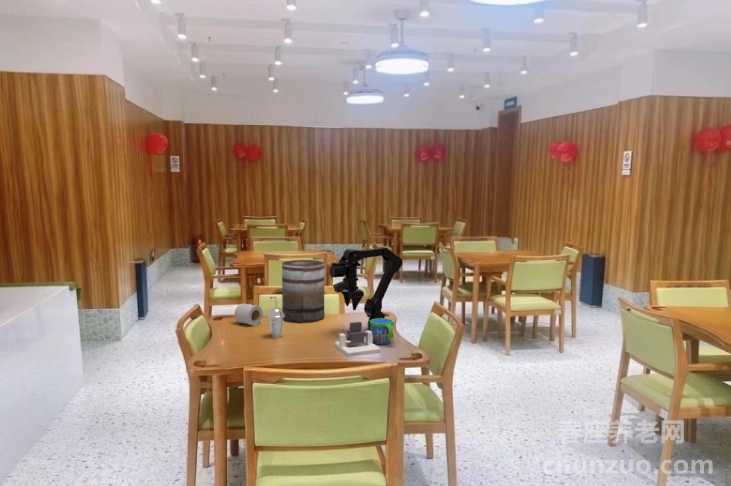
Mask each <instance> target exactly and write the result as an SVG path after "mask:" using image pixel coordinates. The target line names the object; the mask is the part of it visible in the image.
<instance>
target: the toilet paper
mask: <svg viewBox="0 0 731 486" xmlns="http://www.w3.org/2000/svg"><path fill="white" fill-rule="evenodd" d="M233 316H234V317H233V318H234V320H235V321H236V323H239V324H245V325H248V326H253V327H254V326H258V325H259V324H260V323H261V321H262V319H263V310H262V307H260V306H259V305H254V304H253V305H252V304H248V303H240V304H238V305H237V306H236V308H235V310H234V314H233Z"/></svg>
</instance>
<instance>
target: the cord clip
mask: <svg viewBox="0 0 731 486" xmlns="http://www.w3.org/2000/svg"><path fill="white" fill-rule="evenodd" d="M362 324H363V323H362V321H352V322H349V329H348V330H346V334H349V335H351V338H348V339H346V340H347V341H351V344H357V343H364V338H365V337H364V334H365V333H364V332H365V331H363V330H362V327H363V326H362Z"/></svg>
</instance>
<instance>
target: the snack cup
mask: <svg viewBox="0 0 731 486" xmlns="http://www.w3.org/2000/svg"><path fill="white" fill-rule="evenodd" d="M370 325H371V327H370V330H371V332H372V343H373V344H375V345H387V344H389V343H390V342H391V340H393V339H394V332H393V325H394V320H393V319H390V318H386V317H385V318H376V319H372V320H370Z"/></svg>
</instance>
